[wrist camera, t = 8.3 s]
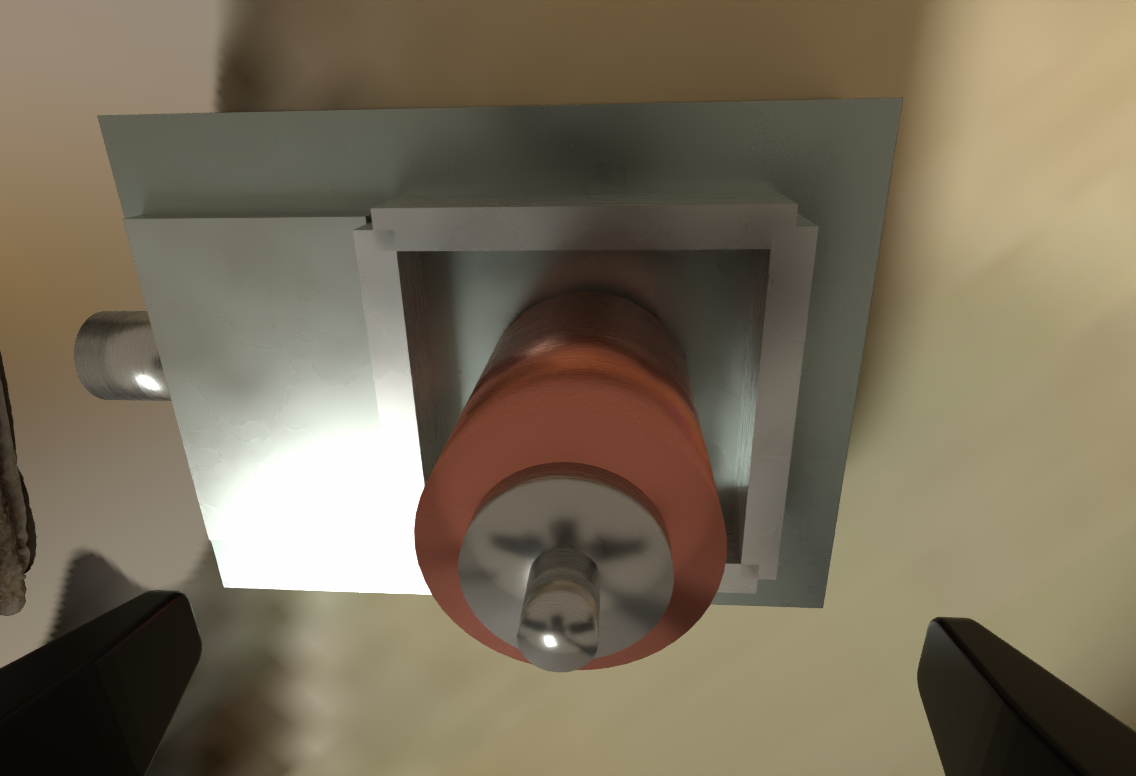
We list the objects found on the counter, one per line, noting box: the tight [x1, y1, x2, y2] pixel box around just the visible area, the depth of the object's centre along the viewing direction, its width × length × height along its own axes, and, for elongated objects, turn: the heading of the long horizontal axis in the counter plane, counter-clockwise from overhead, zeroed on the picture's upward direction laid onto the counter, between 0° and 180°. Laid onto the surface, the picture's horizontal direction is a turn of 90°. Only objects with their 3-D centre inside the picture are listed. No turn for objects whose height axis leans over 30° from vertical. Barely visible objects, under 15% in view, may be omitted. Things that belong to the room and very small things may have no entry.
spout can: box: [414, 292, 727, 672], centre depth 12 cm, size 5×5×8 cm
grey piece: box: [74, 98, 903, 608], centre depth 17 cm, size 19×12×6 cm, turn 91°
